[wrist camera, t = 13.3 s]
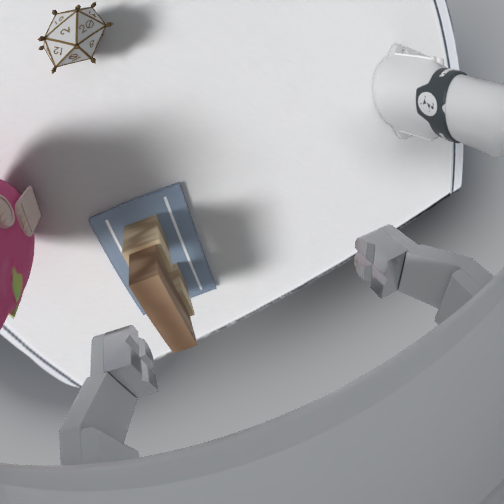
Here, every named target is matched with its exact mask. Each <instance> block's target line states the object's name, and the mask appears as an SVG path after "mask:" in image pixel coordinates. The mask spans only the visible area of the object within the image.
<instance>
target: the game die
mask: <svg viewBox="0 0 504 504" xmlns="http://www.w3.org/2000/svg"><path fill="white" fill-rule="evenodd" d="M95 5H96V2H94V3H92V5H91V7H87V8H81V9H80V7H81V6H80V5H78V6H76V7H75V9H76V10H71V11H66V12H61V13H57V11H56V10H53V11H52V13H53V15H55V16H54V18H53V20H52V22H51V24H50V26H49V28H48V30H47V32H46V35H45V37H43V36H41V37H40V38H39V39H38V40H39V41H43V40H44V46H41V47H40V48H39V49H38V50H43V49H45V51H46V53H47V54H48V56H49V58H50V60H51V61H52V63H53V65H54V68H53V69H52V70H51V71H52V74H53V73H54V72H56V68H57V67H60V66H63V65H67V64H71V63H75V62H79V61H84V60H88V59H90V60H91V62H92V63H95V60H96V59H95V58H93V55H94V52H95V50H96V48H97V45H98V43H99V41H100V39H101V36H102V35H104V34H103V32H104V30H105V28H106V27H109V26H111V25H112V24H114V23H111V22H110V23H107V24H105V23H104V21H103V20H102V19H101V18H100V16H99V15H98V14H97V13H96V11H95V10H94V9H93V7H95ZM95 64H96V63H95Z"/></svg>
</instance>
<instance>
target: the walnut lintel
mask: <svg viewBox="0 0 504 504" xmlns="http://www.w3.org/2000/svg"><path fill="white" fill-rule="evenodd" d="M129 287H130V289H131V291H132V292H133V294H134V295H135V297H136V299H137V300H138V302H139V303H140V305H141V306H142V308H143V310H144V311H145V313H146V314H147V316H148V317H149V319H150V320H151V322H152V323H153V325H154V326H155V328H156V329H157V330H158V332H159V333H160V335H161V336H162V338H163V339H164V340H165V342H166V343H167V345H168V346H169V347H170V349H171V350H172V352H173V353H176V352H179V351H182V350H185V349H188V348H190V347H193V346H196V345H197V342H196V338H195V334H194V331H193V327H192V323H191V319H190V315H189V313H188V311H187V309H186V307H185V305H184V303H183V301H182V299H181V297H180V295H179V293H178V292H177V290H176V288H175V286H174V284H173V281H172V279H171V277H170V275H169V273H168V271H167V269H166V267H165V265H164V263H163V261H162V259H161V257H160V254H159V252H158V250H157V248H156V246H155V245H153V246H150V247H147V248H145V249H142V250H140V251H137V252H135V253H132V254H130V255H129Z"/></svg>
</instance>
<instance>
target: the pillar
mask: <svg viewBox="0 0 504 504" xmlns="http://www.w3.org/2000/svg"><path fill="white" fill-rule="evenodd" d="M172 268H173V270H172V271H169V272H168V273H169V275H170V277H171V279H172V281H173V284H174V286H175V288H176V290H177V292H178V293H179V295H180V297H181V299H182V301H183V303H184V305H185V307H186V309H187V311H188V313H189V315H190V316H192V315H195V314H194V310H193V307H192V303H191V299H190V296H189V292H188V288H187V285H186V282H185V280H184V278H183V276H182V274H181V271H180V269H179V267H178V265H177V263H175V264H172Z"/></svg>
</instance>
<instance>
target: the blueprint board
mask: <svg viewBox="0 0 504 504" xmlns="http://www.w3.org/2000/svg"><path fill="white" fill-rule="evenodd" d="M155 214H156V215H157V218H158V220H159V223H160V225H161V227H162V230H163V232H164V235H165V237H166V239H167V242H168V246H169V252H170V257H171V263H172V264H175V263H177V265H178V267H179V269H180V271H181V274H182V276H183V278H184V280H185V282H186V285H187V288H188V292H189V296H190V298H192V297H195V296H197V295H200V294H203V293H206V292H208V291H211V290H214V289H216V286H215V283H214V280H213V278H212V275H211V272H210V270H209V267H208V264H207V261H206V259H205V256H204V253H203V250H202V248H201V245H200V242H199V239H198V236H197V234H196V231H195V228H194V225H193V222H192V219H191V216H190V213H189V210H188V207H187V205H186V202H185V199H184V196H183V193H182V190H181V186H180V183H179V182H178V183H176V184H173V185H170V186H167V187H165V188H162V189H159V190H157V191H154V192H151V193H149V194H146V195H144V196H141V197H139V198H136V199H134V200H131V201H129V202H126V203H124V204H121V205H119V206H117V207H114V208H112V209H109V210H107V211H105V212H103V213H100V214H98V215H96V216H94V217H91V218H89V223H90V224H91V226H92V228H93V230H94V232H95V234H96V236H97V238H98V240H99V242H100V244H101V245H102V247H103V249H104V251H105V253H106V254H107V256H108V258H109V260H110V262H111V263H112V265H113V267H114V268H115V270H116V272H117V274H118V275H119V277H120V279H121V280H122V282H123V284H124V285H125V287H126V288H127V290H128V292H129V293H130V295H131V296H132V298H133V300H134V301H135V303H136V304H137V306H138V307H139V309H140V310H141V312H142V313H143V315H145V314H146V313H145V311H144V310H143V308H142V306H141V305H140V303H139V302H138V300H137V299H136V297H135V295H134V294H133V292H132V291H131V289H130V287H129V266H128V264H127V262H126V260H125V259H124V257H123V255H122V245H123V234H124V227H125V226H127V225H130V224H132V223H135V222H137V221H140V220H142V219H145V218H147V217H150V216H152V215H155Z"/></svg>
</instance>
